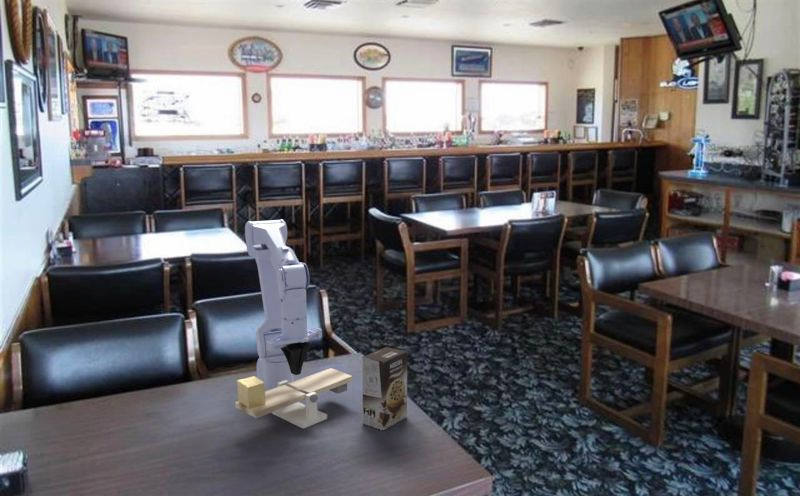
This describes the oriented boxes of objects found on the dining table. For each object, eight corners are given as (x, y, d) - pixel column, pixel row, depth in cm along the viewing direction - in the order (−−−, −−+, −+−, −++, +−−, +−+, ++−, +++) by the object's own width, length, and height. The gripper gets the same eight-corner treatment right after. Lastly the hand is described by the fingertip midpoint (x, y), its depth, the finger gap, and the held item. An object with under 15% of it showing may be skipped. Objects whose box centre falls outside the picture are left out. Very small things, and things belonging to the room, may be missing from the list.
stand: (268, 411, 155) (267, 384, 153) (292, 402, 160) (291, 376, 158) (303, 428, 146) (302, 399, 145) (327, 418, 151) (326, 390, 150)
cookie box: (383, 431, 145) (383, 362, 142) (361, 423, 148) (360, 356, 145) (408, 417, 152) (408, 351, 149) (386, 410, 156) (386, 345, 153)
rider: (255, 397, 147) (238, 401, 145) (253, 376, 146) (237, 380, 144) (265, 404, 143) (248, 409, 141) (264, 382, 142) (247, 387, 140)
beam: (235, 417, 145) (234, 401, 144) (330, 381, 165) (330, 367, 164) (257, 429, 139) (256, 412, 139) (353, 390, 160) (353, 375, 159)
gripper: (278, 327, 141) (280, 386, 143) (329, 313, 151) (331, 369, 153) (259, 320, 145) (261, 378, 148) (310, 307, 156) (311, 362, 158)
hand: (295, 373), depth 151 cm, fingers closed
